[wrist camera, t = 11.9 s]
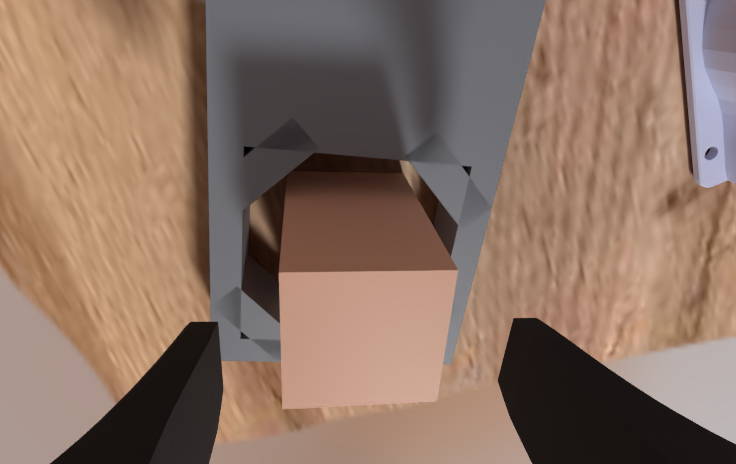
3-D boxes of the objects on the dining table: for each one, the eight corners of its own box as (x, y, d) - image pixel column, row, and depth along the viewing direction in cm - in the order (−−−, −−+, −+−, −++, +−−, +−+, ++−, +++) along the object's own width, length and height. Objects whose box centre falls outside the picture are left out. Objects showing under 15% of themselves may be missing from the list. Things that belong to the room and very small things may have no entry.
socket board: (219, -181, 12) (201, -220, 10) (537, -118, 14) (581, -140, 12) (221, 318, 19) (211, 360, 17) (435, 324, 21) (450, 364, 19)
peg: (402, 173, 18) (458, 270, 11) (393, 271, 19) (436, 401, 13) (287, 171, 17) (279, 272, 11) (289, 272, 19) (282, 409, 13)
